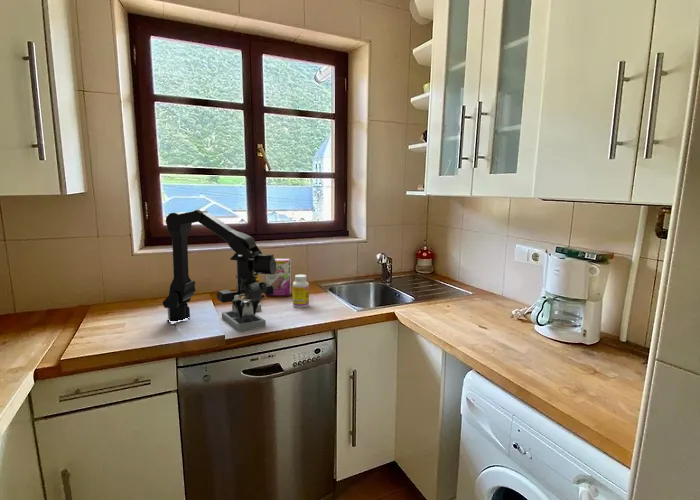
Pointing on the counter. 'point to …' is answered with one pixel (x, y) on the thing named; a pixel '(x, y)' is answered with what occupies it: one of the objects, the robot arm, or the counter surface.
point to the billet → (247, 311)
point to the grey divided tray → (240, 325)
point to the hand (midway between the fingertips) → (247, 316)
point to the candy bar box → (280, 278)
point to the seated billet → (234, 312)
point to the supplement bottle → (300, 292)
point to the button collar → (258, 307)
